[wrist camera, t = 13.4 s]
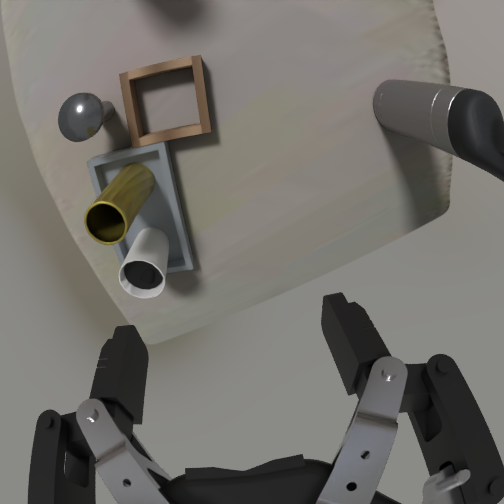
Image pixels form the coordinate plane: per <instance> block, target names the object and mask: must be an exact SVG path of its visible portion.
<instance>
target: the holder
mask: <svg viewBox="0 0 504 504" xmlns="http://www.w3.org/2000/svg"><path fill="white" fill-rule="evenodd" d="M191 67H193V75H194V82H195V89H196V96H197V103H198V110H199V117H200V123H198V124H193V125H187V126H182V127H177V128H172V129H168V130H163V131H158V132H154V133H150V134H146V135H144V132H143V127H142V122H141V116H140V111H139V105H138V99H137V93H136V87H135V80H138V79H142V78H145V77H149V76H153V75H157V74H162V73H166V72H170V71H175V70H180V69H185V68H191ZM119 76H120V83H121V89H122V95H123V101H124V107H125V113H126V118H127V123H128V128H129V133H130V138H131V143H132V147H133V148H137V147H141V146H145V145H149V144H153V143H158V142H162V141H167V140H171V139H176V138H181V137H187V136H192V135H197V134H203V133H209V132H211V125H210V118H209V111H208V104H207V97H206V89H205V82H204V75H203V67H202V59H201V55H197V56H192V57H186V58H181V59H176V60H171V61H167V62H162V63H158V64H154V65H150V66H146V67H142V68H139V69H135V70H132V71H128V72H125V73H122V74H119Z"/></svg>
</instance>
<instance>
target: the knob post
mask: <svg viewBox="0 0 504 504" xmlns="http://www.w3.org/2000/svg"><path fill="white" fill-rule="evenodd" d="M113 113H114V106H113V104H112V103H110V102H108V101H103V102H101V100H100V99H99V98H98V97H97V96H95V95H94V94H91V93H78V94H75V95H72V96H71V97H69V98H68V99H67V100H66V101H65V102H64V104H63V105H62V107H61V109H60V112H59V116H58V124H59V128H60V131H61V133H62V134H63V135H64V137H65V138H67V139H68V140H70V141H73V142H81V141H84V140H87V139H89V138H91V137H93V136H94V135H95V134H96V133H97V132H98V131H99V129H100V128H101V126H102V124H103V121H106V120H108V119H110V118H111V117H112V116H113Z"/></svg>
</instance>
